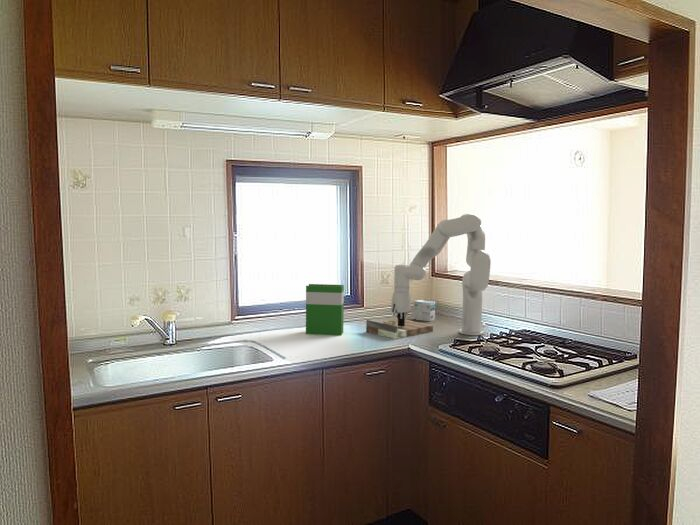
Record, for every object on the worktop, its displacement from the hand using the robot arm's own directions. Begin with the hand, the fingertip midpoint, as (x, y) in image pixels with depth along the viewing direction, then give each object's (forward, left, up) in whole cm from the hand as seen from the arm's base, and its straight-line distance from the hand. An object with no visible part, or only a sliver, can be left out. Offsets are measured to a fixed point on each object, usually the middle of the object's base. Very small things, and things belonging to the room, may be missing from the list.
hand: (401, 325), depth 260 cm
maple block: (+7, 0, -1) cm, 7 cm away
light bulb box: (-36, -16, -4) cm, 40 cm away
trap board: (-2, -3, -4) cm, 5 cm away
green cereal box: (+30, -24, -4) cm, 38 cm away
